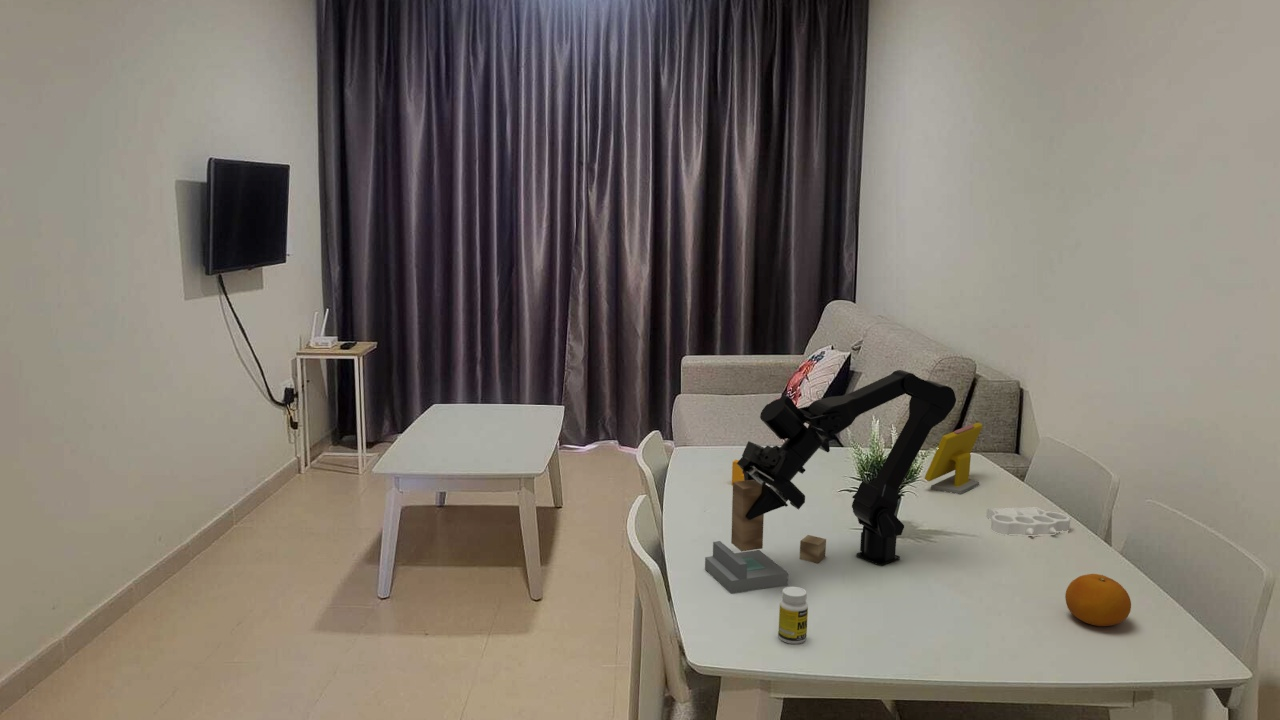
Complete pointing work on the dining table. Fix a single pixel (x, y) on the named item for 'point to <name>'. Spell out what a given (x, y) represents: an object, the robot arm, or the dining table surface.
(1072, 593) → the fruit
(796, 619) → the supplement bottle
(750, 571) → the base slab
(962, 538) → the dining table surface
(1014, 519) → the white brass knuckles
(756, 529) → the walnut pillar
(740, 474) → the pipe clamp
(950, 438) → the yellow framed monitor
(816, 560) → the oak block
